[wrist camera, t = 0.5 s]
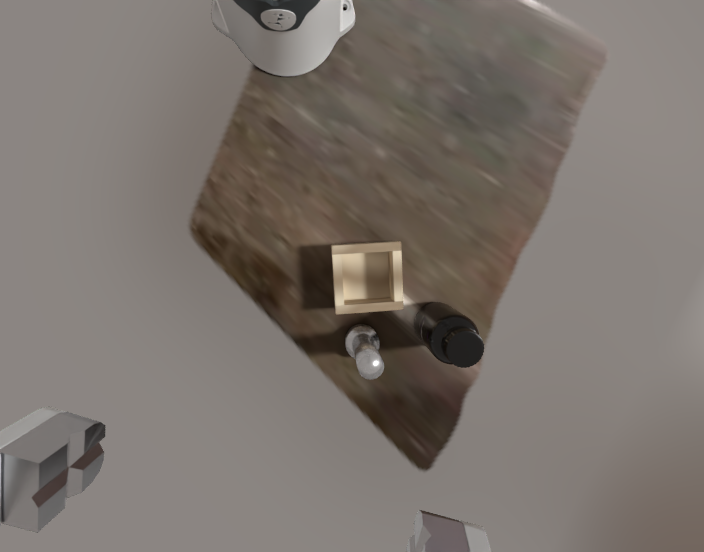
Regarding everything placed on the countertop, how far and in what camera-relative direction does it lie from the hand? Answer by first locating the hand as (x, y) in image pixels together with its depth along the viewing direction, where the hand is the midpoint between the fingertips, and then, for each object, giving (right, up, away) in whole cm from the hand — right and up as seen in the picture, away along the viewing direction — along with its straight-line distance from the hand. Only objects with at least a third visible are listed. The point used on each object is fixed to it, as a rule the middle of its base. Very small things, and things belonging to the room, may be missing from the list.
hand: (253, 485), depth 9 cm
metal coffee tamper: (+4, -4, +46) cm, 46 cm away
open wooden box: (+4, +5, +44) cm, 45 cm away
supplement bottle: (+15, -2, +46) cm, 49 cm away
